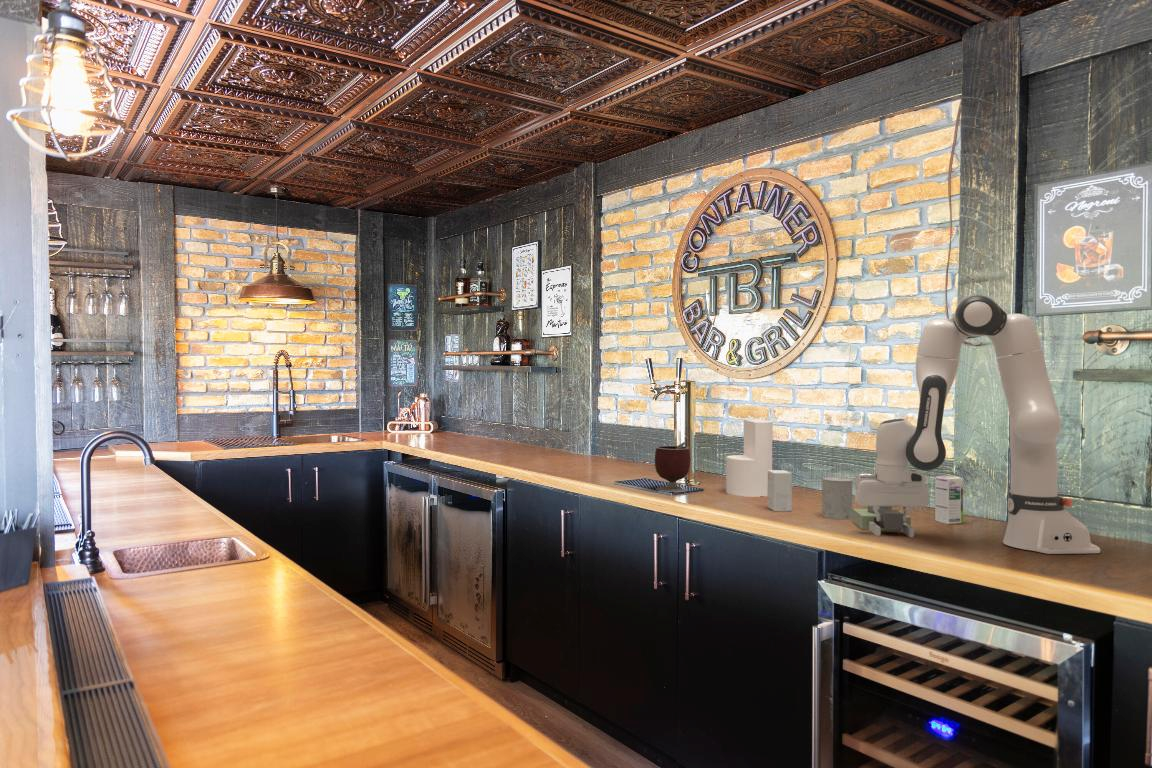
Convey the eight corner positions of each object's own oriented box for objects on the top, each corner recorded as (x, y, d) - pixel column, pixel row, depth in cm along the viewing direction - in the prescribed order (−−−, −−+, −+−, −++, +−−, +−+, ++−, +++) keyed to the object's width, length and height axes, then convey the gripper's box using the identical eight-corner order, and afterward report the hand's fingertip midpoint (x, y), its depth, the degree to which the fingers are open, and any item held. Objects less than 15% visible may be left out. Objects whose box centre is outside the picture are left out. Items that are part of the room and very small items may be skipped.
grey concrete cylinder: (854, 519, 242) (855, 481, 242) (823, 518, 244) (823, 480, 244) (850, 514, 251) (850, 477, 251) (820, 512, 253) (820, 476, 253)
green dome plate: (898, 522, 237) (898, 497, 237) (920, 537, 217) (920, 509, 216) (852, 521, 239) (852, 496, 239) (869, 535, 218) (869, 508, 218)
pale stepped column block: (764, 489, 302) (765, 419, 302) (777, 496, 285) (778, 422, 284) (721, 489, 302) (722, 419, 301) (731, 496, 284) (732, 422, 284)
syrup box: (948, 524, 235) (948, 478, 235) (934, 520, 241) (935, 475, 240) (963, 523, 236) (964, 477, 236) (949, 520, 242) (949, 474, 242)
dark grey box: (897, 524, 224) (897, 509, 224) (903, 529, 217) (903, 514, 217) (879, 524, 225) (879, 509, 225) (884, 528, 218) (884, 513, 218)
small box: (792, 511, 256) (792, 473, 255) (773, 511, 255) (774, 473, 255) (784, 507, 264) (785, 469, 263) (766, 507, 264) (767, 469, 263)
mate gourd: (647, 489, 302) (648, 439, 301) (676, 486, 308) (677, 437, 307) (669, 495, 288) (670, 442, 287) (699, 492, 294) (699, 441, 294)
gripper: (857, 475, 219) (857, 522, 220) (931, 476, 217) (931, 524, 217) (852, 472, 226) (851, 518, 226) (924, 473, 223) (923, 520, 223)
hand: (891, 521), depth 221 cm, fingers closed on dark grey box, 5 cm apart
